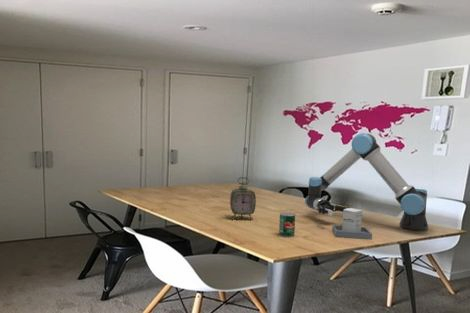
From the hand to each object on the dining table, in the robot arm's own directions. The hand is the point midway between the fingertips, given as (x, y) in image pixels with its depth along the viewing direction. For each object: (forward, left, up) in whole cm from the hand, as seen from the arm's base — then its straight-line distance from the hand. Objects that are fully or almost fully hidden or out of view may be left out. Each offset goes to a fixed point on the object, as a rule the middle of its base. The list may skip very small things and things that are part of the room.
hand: (342, 213), depth 224 cm
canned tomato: (+30, +18, -10) cm, 37 cm away
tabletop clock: (+56, -14, -10) cm, 59 cm away
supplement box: (-4, +8, -9) cm, 13 cm away
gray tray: (-4, +8, -10) cm, 13 cm away
